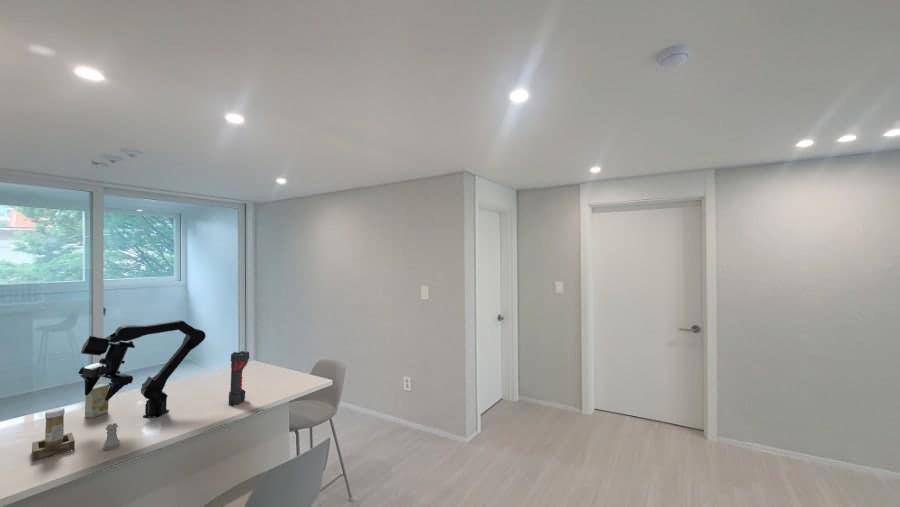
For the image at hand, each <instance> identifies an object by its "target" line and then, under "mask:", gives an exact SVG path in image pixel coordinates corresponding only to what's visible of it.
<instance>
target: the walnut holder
mask: <svg viewBox="0 0 900 507" xmlns="http://www.w3.org/2000/svg"><path fill="white" fill-rule="evenodd" d="M75 444H76V441H75V437H74V434H73V432H69V433H68V432H67V433H64V434H63V443H60V444H56V445H52V446H48V447H45V438H44V439H41V440H37V441H34V442H32V444H31V454H32V455H31V456H32V462H36V460H37V461H40V459H41V460H44V459H48V458H51V457H55V456H58V454H59V455H62V454H65V452H66V453H69V452H72V451H71V450H73V451H75V449H76V448H75V446H76V445H75ZM68 451H69V452H68ZM54 455H55V456H54ZM47 457H48V458H47Z"/></svg>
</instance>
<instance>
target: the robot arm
mask: <svg viewBox="0 0 900 507" xmlns="http://www.w3.org/2000/svg"><path fill="white" fill-rule="evenodd" d="M174 331H180V332H181V333H182V334H184V335H185V337H184V338H183V340H182V343H181V345H180V346H179V347H178V349H177V350H176V352H175V353H174V354H173V355H171V357H170V358H169V360H167V362H166V363H165V364H164V365H163V367H162V368H161V369H160V370H159V372H158V373H157V374H156V375H155V376H153V377H151V376H148V377H147V379H146V380H145V381H144V382H143V383H142V384H141V388H140V394H141V395H142V396H143V397H144V399H147V400H146V402H145V403H146V404H145V407H144V408H145V409H144V412H145V413H144V414H143V415H142V417H143V418H159V417H161V416H162V414H163V415H165V414H166V413H168V412H169V411H170V409H167V405H168V404H167V403H168V401H167V398H168V394H166V392H164V391H163V390H164V389H165V386H166V383H167V381H168V379H169V378H170V377H171V375H172V374H173V373H174V372H175V371H176V369H177V368H178V367H179V365H180V364H181V363H182V362H183V360H185V358H187V356H188V355H189V354H190V353H191V351H193V350H194V349H195V348H197V347H198V346H199V345H200V344H201V343H203V341H205V339H206V332H205V331H204V330H202V329H199V328H195V327H193V326H191V325H189V324H188V323H187V322H186V321H184V320H181V319H178V320H173V321H168V322H161V323H152V324H145V325H136V324H135V325H134V324H133V325H132V324H131V325H129V324H126V325H125V324H124V325H120V326H118V327H117V328H116V330H115V331H114V332H113V333H112V334H110V335H108V336H106V337H99V336H94V335H89V336H88V338H87V339H86V341H85V342H84V344H83V345H82V348H81V351H80V354H83V355H92V356H101V355H104V354H105V356H104V358H100V360H99V361H98V362H97V363H92V364H89V365H86V366H82V367H80V369H79V371H78V375H80V378H82V379H83V380H84V396H86V395H88V394H89V393H90V392H91V390H92V389H93V387H94V386H95V385H97V382H99V380H100V378H102V377H103V378H104V379H105V378H106V379H109V380H110V382H108V384H109V390H108V393H107V395H106V398H105V401H108V400H109V401H110V399H112V398H113V396H114V395H116V394H117V393H118V392H119V391H120V390H122V388H124V387H125V386H128V385H129V384H132V383H133V380H134V377H133V375H129V374H125V373H123V374H122V373H121V370H120V367H121V365H122V364H123V365H124V364H125V363H126V362H125V361H126V360H124V359H125V356H126V354H127V351H128V349H129V348H131V349H134V348H136V346H135V344H134V342H133V340H136V339H139V338H141V337H144V336H147V335H154V334H155V335H156V334H161V333H166V332H174ZM120 373H121V374H120ZM160 415H161V416H160Z"/></svg>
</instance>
